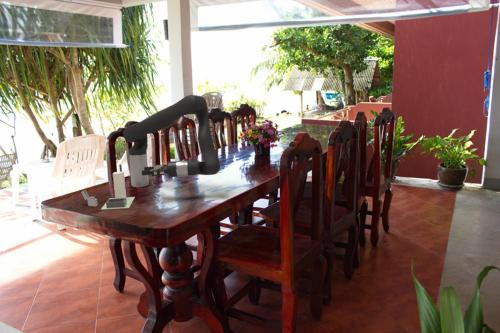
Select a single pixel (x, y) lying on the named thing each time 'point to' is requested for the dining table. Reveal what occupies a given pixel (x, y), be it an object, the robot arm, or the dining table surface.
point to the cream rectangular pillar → (119, 184)
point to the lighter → (89, 199)
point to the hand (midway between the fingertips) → (143, 171)
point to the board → (118, 203)
